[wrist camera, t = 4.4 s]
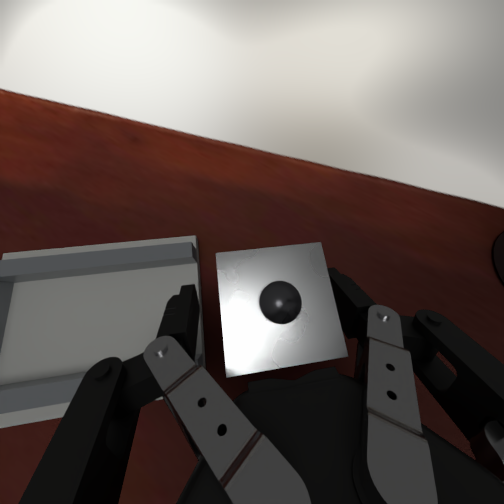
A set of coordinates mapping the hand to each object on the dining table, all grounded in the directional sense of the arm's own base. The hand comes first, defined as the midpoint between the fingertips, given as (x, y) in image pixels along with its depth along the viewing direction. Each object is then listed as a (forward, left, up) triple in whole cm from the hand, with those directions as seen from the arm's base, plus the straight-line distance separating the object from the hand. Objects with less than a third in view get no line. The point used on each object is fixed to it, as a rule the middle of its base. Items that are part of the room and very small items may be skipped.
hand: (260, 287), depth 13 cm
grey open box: (+10, -7, -5) cm, 13 cm away
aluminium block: (+1, +1, -5) cm, 5 cm away
